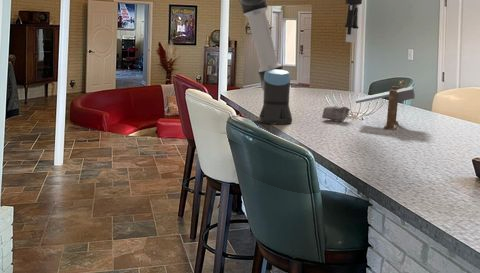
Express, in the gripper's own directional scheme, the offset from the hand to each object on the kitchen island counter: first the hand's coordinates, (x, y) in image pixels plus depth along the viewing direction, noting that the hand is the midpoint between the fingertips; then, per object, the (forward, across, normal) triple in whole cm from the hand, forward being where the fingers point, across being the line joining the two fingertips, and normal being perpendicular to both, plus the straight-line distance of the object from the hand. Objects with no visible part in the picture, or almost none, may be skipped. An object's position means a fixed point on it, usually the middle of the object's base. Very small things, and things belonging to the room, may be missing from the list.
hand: (350, 42), depth 221 cm
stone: (+29, -9, +3) cm, 31 cm away
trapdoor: (+26, -11, -19) cm, 34 cm away
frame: (+37, -11, -22) cm, 44 cm away
